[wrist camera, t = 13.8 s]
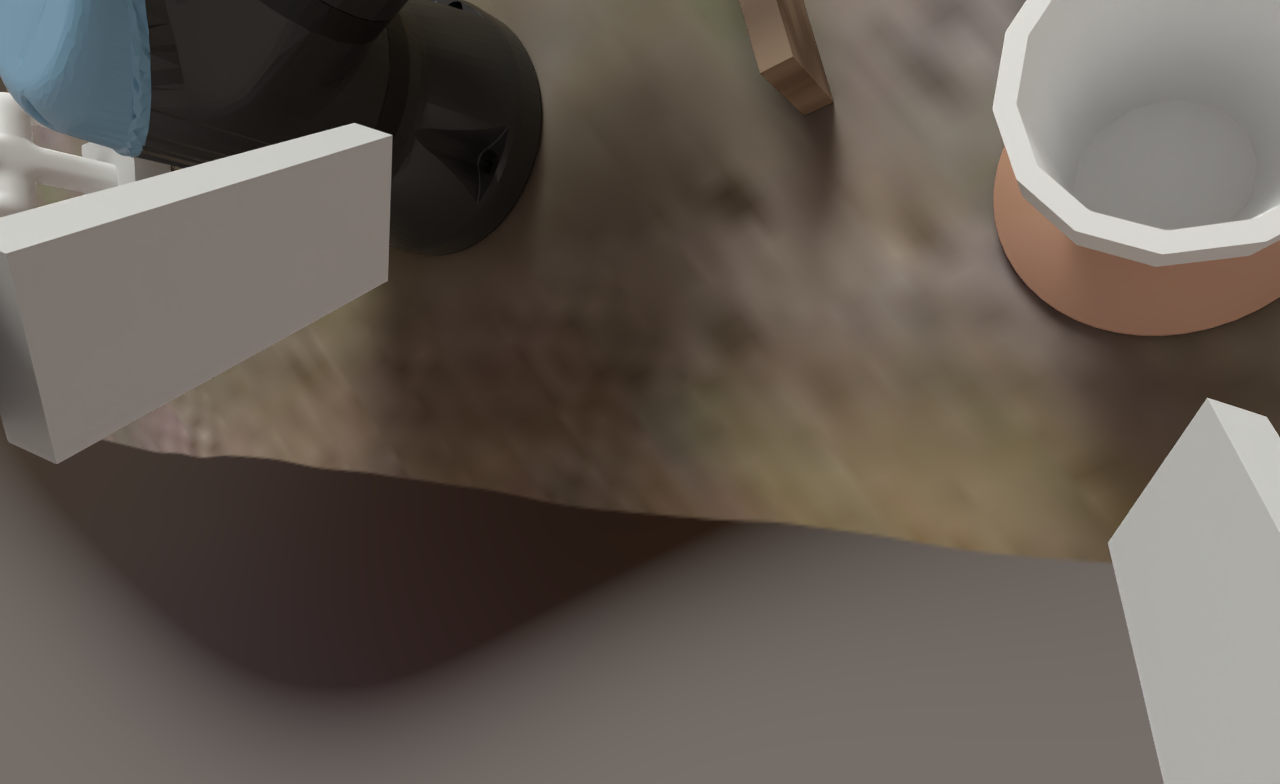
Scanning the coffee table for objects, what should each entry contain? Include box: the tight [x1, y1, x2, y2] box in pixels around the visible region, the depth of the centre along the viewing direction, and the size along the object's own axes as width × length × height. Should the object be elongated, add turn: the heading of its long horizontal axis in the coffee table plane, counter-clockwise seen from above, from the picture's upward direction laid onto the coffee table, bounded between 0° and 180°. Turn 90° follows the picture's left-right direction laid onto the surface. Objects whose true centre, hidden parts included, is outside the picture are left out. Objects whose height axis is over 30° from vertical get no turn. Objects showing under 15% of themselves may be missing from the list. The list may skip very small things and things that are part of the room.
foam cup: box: [993, 0, 1280, 267], centre depth 26 cm, size 10×9×13 cm
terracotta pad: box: [993, 146, 1280, 336], centre depth 32 cm, size 12×12×1 cm
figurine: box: [0, 92, 171, 217], centre depth 59 cm, size 7×9×15 cm
